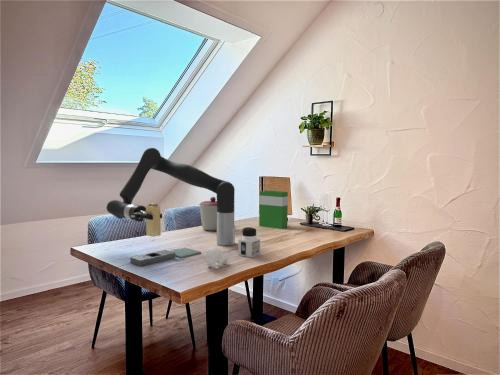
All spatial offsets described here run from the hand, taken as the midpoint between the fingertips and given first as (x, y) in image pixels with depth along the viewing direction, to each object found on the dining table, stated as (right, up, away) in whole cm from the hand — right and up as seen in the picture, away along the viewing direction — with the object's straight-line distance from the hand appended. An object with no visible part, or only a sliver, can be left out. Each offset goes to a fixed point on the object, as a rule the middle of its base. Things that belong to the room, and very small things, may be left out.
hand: (156, 216), depth 157 cm
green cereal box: (+56, -14, +87) cm, 105 cm away
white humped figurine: (+27, -21, -4) cm, 34 cm away
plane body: (-2, -20, +3) cm, 20 cm away
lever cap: (-2, -8, +3) cm, 9 cm away
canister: (+17, -14, +76) cm, 79 cm away
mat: (+9, -19, +16) cm, 26 cm away
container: (+40, -19, +15) cm, 47 cm away
